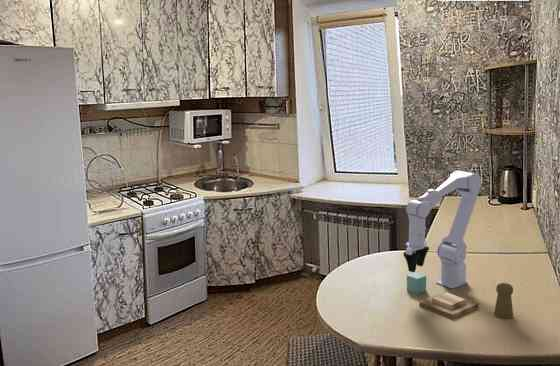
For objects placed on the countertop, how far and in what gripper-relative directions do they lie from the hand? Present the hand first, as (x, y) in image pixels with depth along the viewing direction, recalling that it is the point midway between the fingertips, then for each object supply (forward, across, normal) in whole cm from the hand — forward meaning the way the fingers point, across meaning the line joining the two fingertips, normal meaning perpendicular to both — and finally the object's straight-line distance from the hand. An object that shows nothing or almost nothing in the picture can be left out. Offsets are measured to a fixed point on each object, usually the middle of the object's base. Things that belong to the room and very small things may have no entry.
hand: (416, 268), depth 200 cm
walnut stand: (+10, +5, +14) cm, 18 cm away
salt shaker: (+10, +3, +32) cm, 33 cm away
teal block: (+10, -3, -1) cm, 10 cm away
